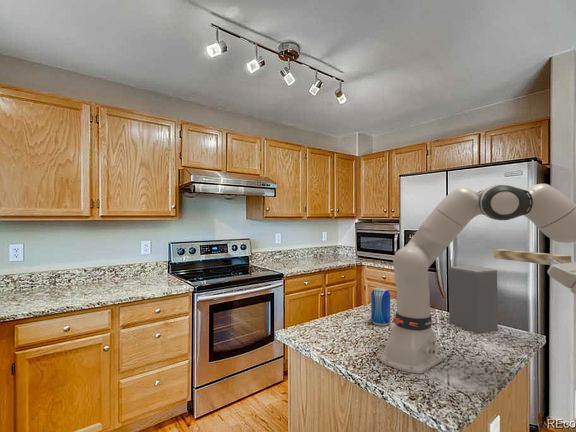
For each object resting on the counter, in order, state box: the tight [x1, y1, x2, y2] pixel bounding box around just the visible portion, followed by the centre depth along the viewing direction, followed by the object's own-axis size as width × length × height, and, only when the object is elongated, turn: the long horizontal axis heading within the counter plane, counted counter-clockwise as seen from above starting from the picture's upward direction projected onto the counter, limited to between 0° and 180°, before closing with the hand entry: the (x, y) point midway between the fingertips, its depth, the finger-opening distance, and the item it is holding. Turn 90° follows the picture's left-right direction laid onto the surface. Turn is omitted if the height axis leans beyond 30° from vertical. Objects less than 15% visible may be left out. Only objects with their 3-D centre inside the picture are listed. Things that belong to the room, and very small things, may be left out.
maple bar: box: [493, 248, 572, 266], centre depth 114 cm, size 24×4×4 cm, turn 20°
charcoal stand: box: [448, 265, 499, 335], centre depth 136 cm, size 14×12×26 cm
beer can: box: [370, 286, 391, 327], centre depth 141 cm, size 8×8×16 cm
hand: (553, 258), depth 107 cm, fingers closed on maple bar, 4 cm apart
